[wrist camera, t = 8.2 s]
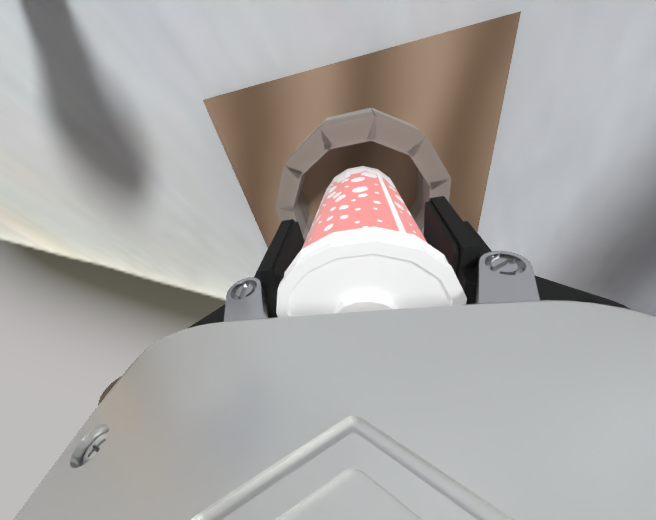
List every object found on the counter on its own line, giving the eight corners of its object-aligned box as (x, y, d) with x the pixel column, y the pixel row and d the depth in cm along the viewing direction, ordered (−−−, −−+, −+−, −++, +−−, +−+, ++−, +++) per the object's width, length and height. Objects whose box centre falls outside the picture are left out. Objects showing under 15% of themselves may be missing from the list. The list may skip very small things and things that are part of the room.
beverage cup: (299, 224, 16) (187, 539, 5) (333, 132, 13) (194, 538, 2) (379, 255, 17) (425, 572, 6) (432, 177, 14) (771, 617, 3)
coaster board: (510, 15, 11) (574, -9, 8) (467, 254, 19) (490, 288, 16) (209, 99, 14) (168, 105, 11) (283, 273, 22) (272, 306, 19)
